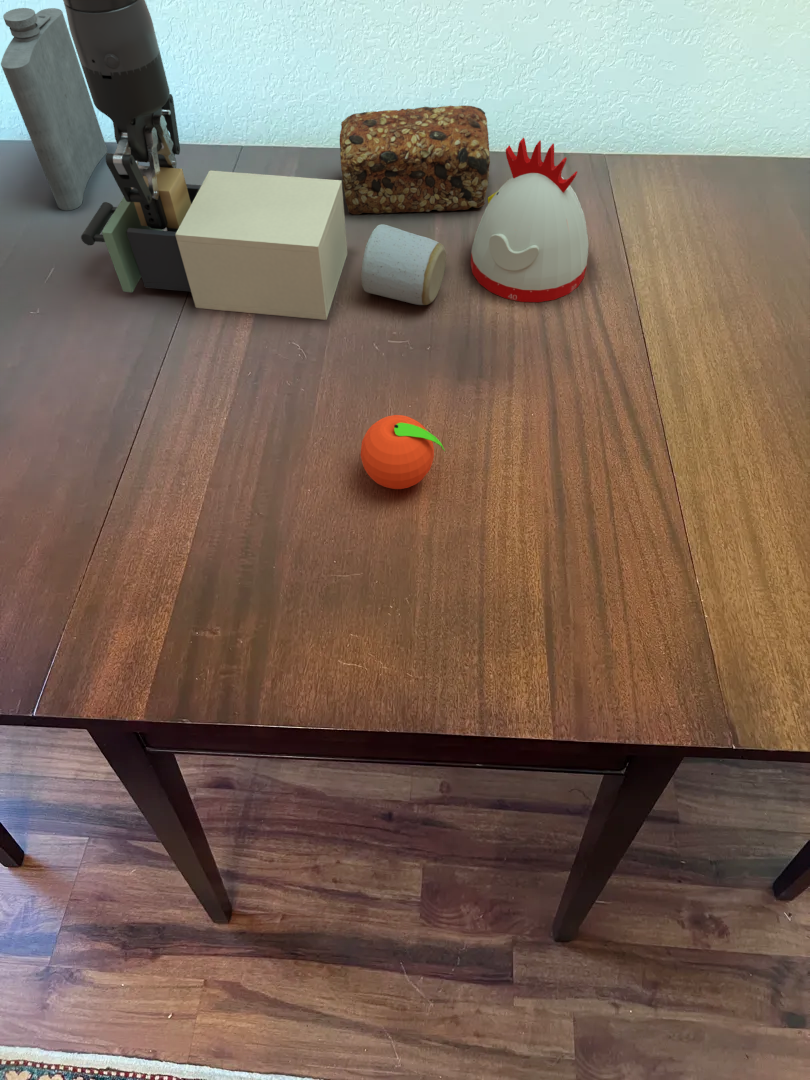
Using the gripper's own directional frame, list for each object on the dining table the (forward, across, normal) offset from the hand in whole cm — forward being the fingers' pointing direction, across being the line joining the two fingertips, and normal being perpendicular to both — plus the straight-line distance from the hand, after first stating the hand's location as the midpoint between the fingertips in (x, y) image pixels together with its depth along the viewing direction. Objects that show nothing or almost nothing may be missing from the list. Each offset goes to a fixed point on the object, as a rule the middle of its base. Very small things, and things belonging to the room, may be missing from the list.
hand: (165, 213), depth 88 cm
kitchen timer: (+8, -7, +41) cm, 43 cm away
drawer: (+7, 0, 0) cm, 7 cm away
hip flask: (+8, -18, -20) cm, 29 cm away
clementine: (+8, +28, +32) cm, 43 cm away
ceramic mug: (+8, -1, +27) cm, 29 cm away
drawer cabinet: (+8, 0, +12) cm, 14 cm away
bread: (+8, -20, +26) cm, 34 cm away
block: (0, 0, 0) cm, 0 cm away
